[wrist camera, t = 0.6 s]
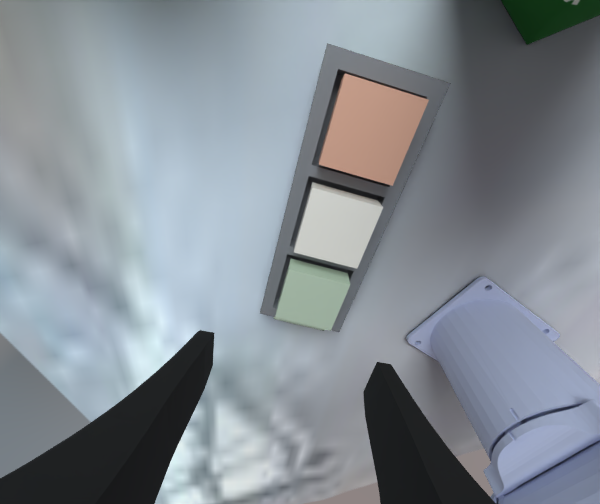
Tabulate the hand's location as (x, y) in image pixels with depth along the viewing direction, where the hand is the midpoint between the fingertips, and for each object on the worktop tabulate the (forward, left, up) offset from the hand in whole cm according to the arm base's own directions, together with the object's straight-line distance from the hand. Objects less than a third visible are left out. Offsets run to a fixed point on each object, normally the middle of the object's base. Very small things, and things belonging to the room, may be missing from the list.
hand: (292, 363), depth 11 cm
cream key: (+1, -4, -7) cm, 9 cm away
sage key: (-1, 0, -7) cm, 7 cm away
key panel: (+1, -4, -9) cm, 10 cm away
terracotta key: (+2, -9, -7) cm, 12 cm away
